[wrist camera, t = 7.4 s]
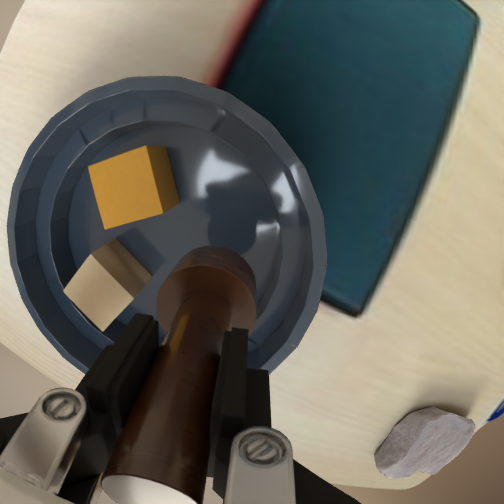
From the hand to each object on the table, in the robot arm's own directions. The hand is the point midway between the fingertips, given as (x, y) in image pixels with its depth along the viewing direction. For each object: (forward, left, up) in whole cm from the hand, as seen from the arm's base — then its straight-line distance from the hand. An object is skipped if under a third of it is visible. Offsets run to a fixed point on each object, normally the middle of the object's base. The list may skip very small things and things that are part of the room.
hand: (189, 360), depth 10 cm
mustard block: (-4, -6, -13) cm, 15 cm away
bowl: (0, -4, -13) cm, 14 cm away
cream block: (+3, -8, -13) cm, 15 cm away
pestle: (0, 0, -7) cm, 7 cm away
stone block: (+20, +26, -14) cm, 35 cm away
